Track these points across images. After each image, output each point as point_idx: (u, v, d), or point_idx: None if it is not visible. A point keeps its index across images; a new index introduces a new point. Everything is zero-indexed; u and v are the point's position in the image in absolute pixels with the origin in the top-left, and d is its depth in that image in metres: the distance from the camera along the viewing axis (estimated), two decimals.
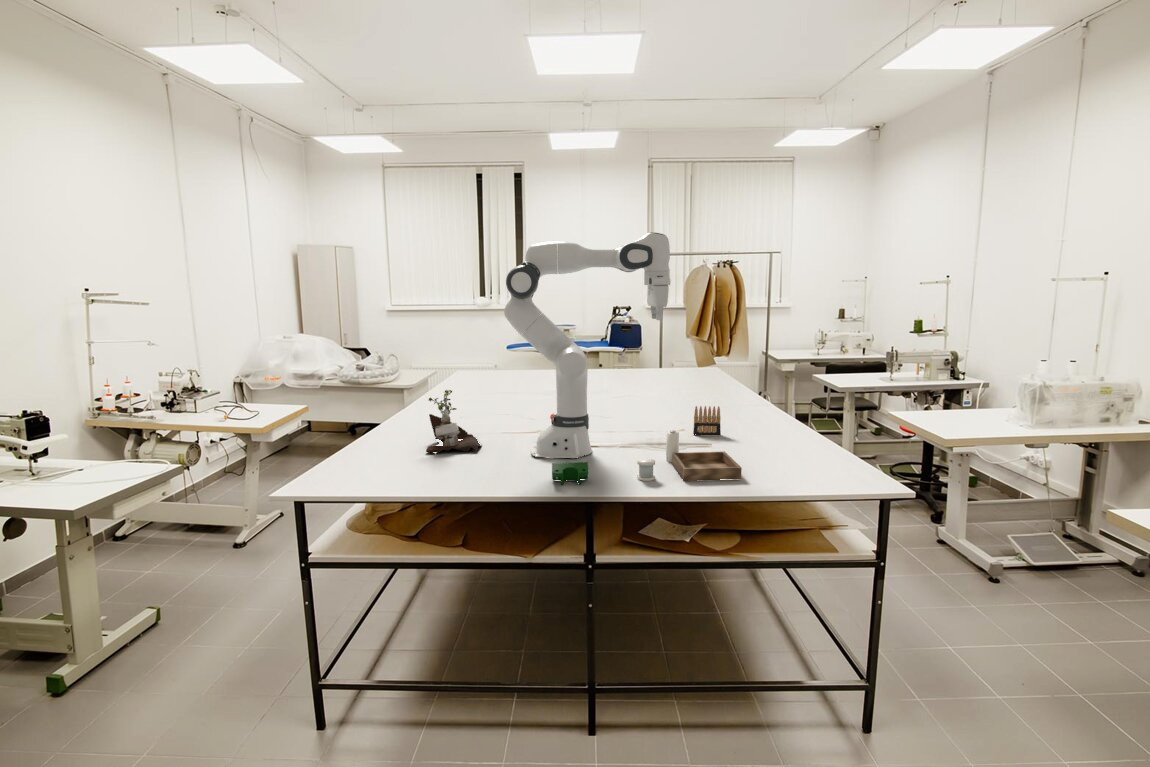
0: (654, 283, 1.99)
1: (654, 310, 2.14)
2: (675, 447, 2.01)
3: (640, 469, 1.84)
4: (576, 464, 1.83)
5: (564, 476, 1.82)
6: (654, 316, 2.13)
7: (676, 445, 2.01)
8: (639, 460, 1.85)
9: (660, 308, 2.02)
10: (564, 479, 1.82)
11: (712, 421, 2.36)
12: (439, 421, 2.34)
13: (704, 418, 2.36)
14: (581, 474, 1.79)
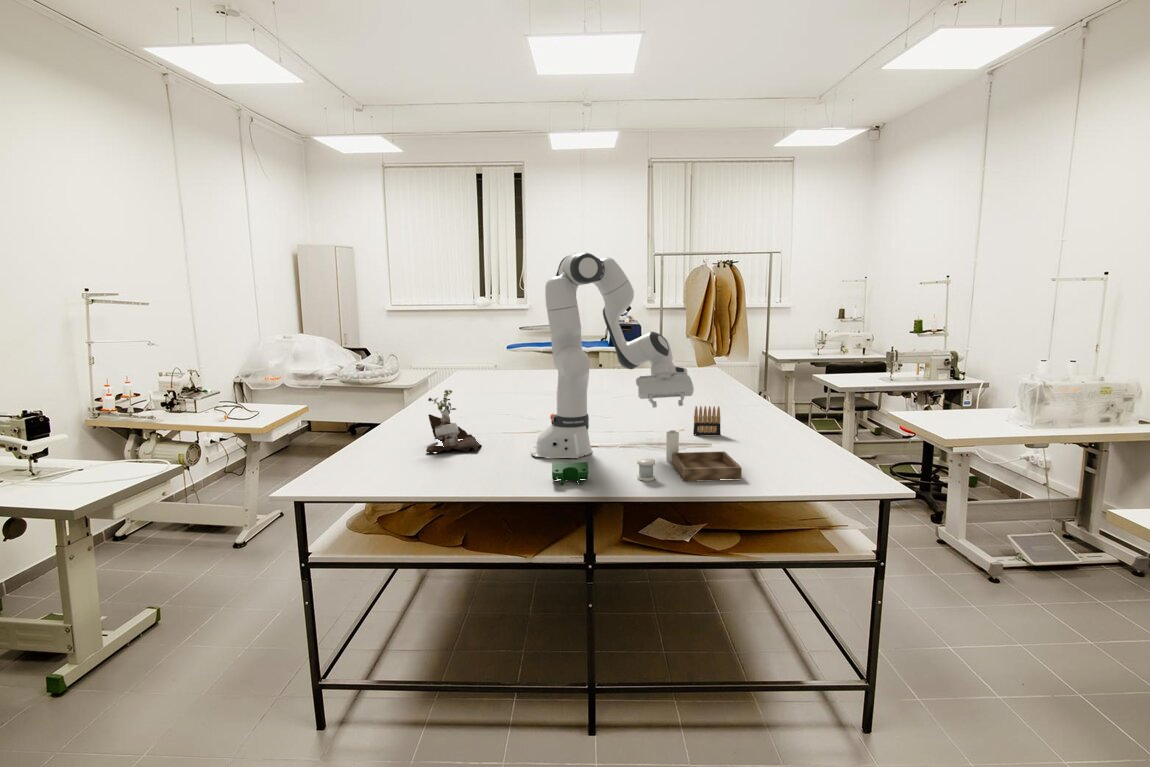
0: None
1: None
2: (675, 447, 2.01)
3: (640, 469, 1.84)
4: (576, 464, 1.83)
5: (564, 476, 1.82)
6: None
7: (676, 445, 2.01)
8: (639, 460, 1.85)
9: None
10: (564, 479, 1.82)
11: (712, 421, 2.36)
12: (438, 421, 2.34)
13: (704, 418, 2.36)
14: (581, 474, 1.79)
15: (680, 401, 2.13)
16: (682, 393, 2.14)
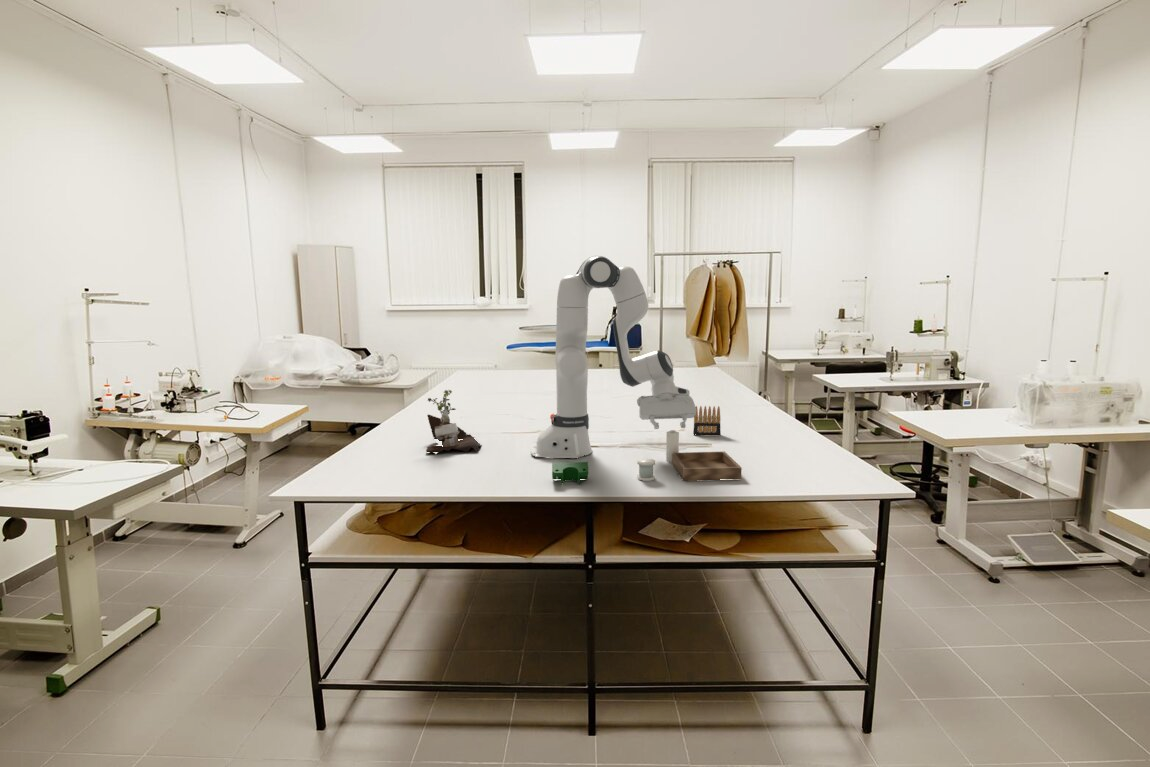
0: (689, 393, 2.13)
1: None
2: (675, 447, 2.01)
3: (640, 469, 1.84)
4: (576, 464, 1.83)
5: (564, 476, 1.82)
6: None
7: (676, 445, 2.01)
8: (639, 460, 1.85)
9: None
10: (564, 479, 1.82)
11: (712, 421, 2.36)
12: (437, 421, 2.34)
13: (704, 418, 2.36)
14: (581, 474, 1.79)
15: (683, 423, 2.08)
16: (684, 415, 2.09)
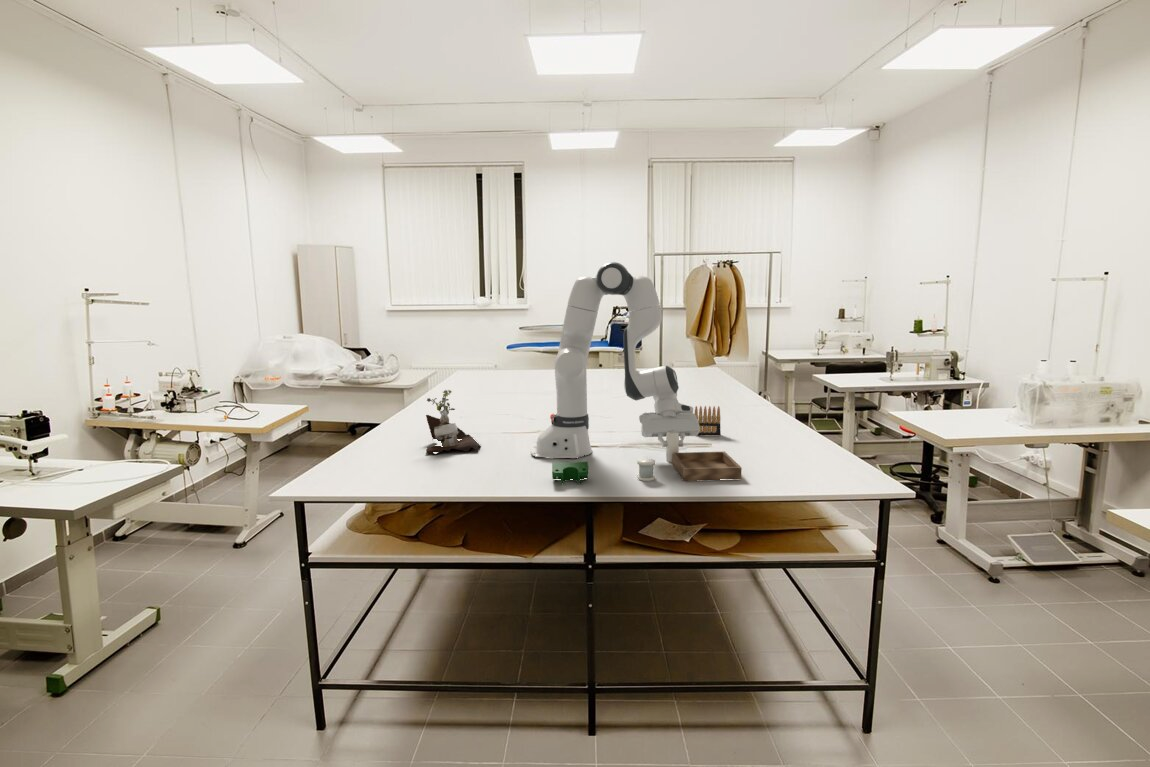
0: None
1: None
2: (675, 447, 2.01)
3: (640, 469, 1.84)
4: (576, 464, 1.83)
5: (564, 476, 1.82)
6: None
7: (676, 445, 2.01)
8: (639, 460, 1.85)
9: None
10: (564, 479, 1.82)
11: (712, 421, 2.36)
12: (436, 422, 2.33)
13: (704, 418, 2.36)
14: (581, 474, 1.79)
15: (680, 442, 2.02)
16: (682, 433, 2.04)
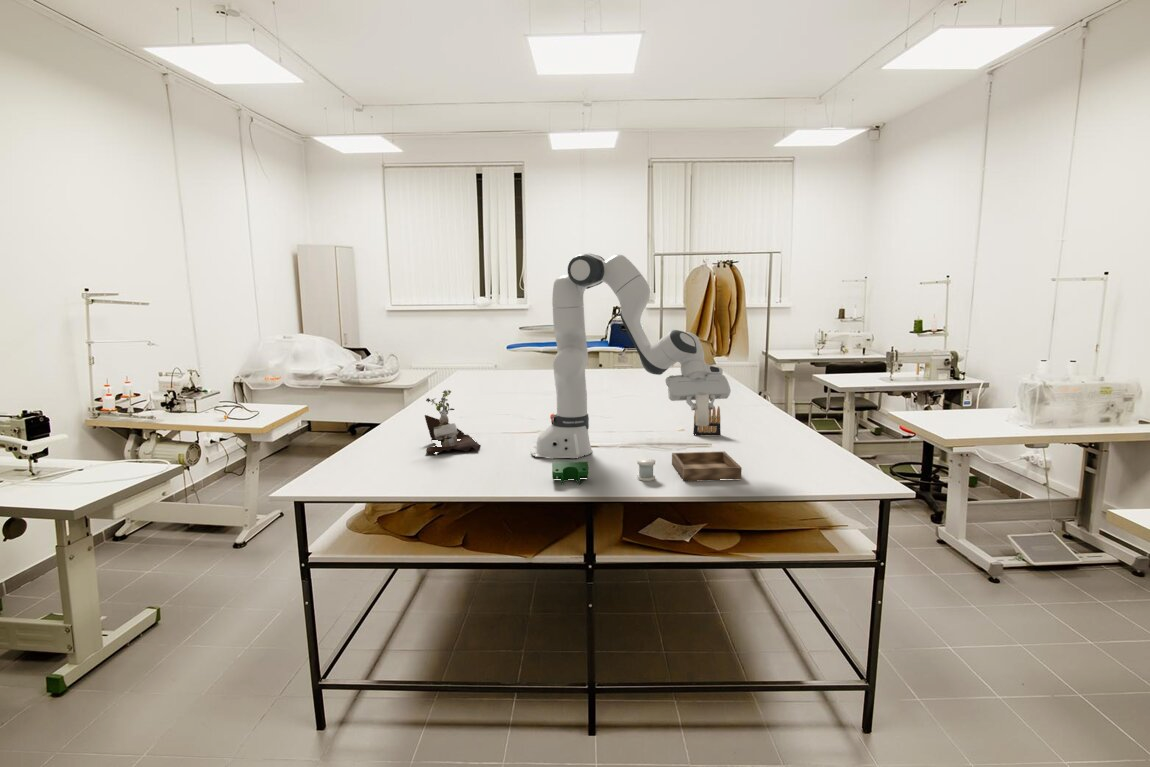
0: (722, 372, 1.96)
1: None
2: (705, 409, 1.89)
3: (640, 469, 1.84)
4: (576, 463, 1.84)
5: (564, 475, 1.82)
6: None
7: (706, 407, 1.89)
8: (639, 460, 1.85)
9: None
10: (564, 478, 1.83)
11: (712, 421, 2.36)
12: (435, 422, 2.33)
13: None
14: (581, 473, 1.79)
15: (710, 404, 1.91)
16: (712, 395, 1.92)
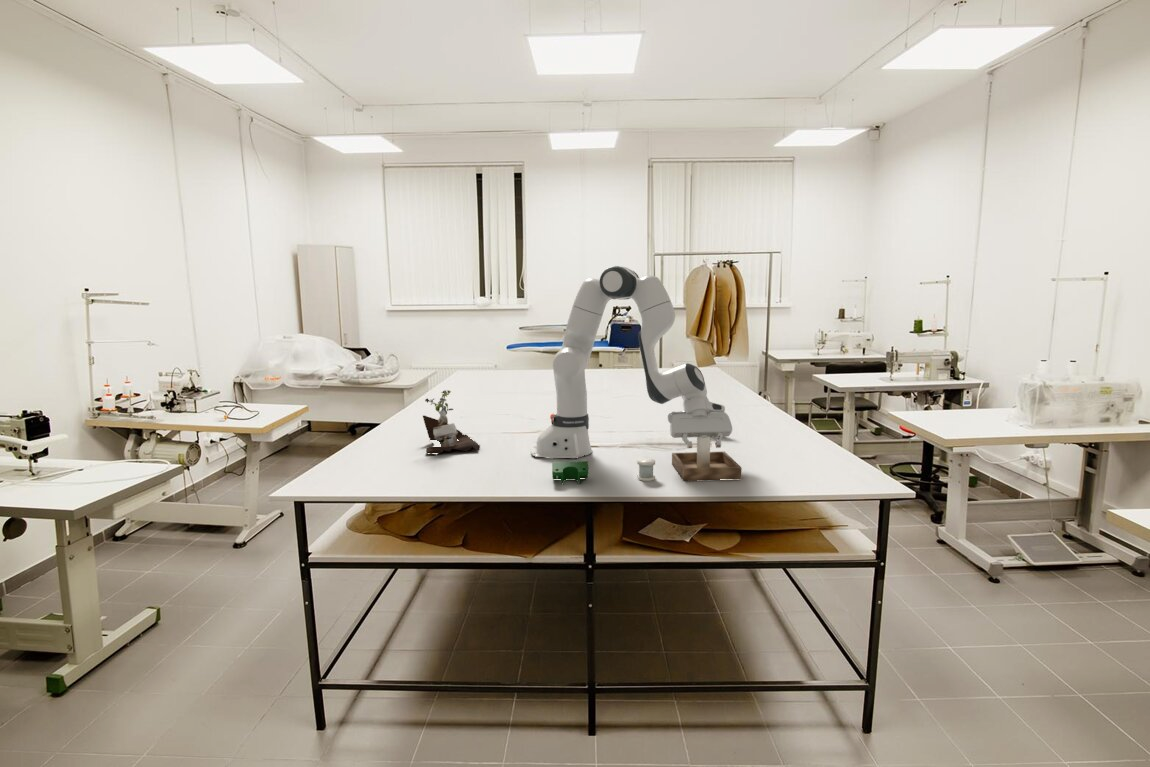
0: (724, 410, 1.97)
1: None
2: (706, 452, 1.90)
3: (640, 469, 1.84)
4: (576, 463, 1.84)
5: (564, 475, 1.82)
6: None
7: (707, 450, 1.90)
8: (639, 460, 1.85)
9: None
10: (564, 478, 1.83)
11: None
12: (433, 422, 2.32)
13: None
14: (581, 473, 1.80)
15: (718, 442, 1.91)
16: (720, 433, 1.93)
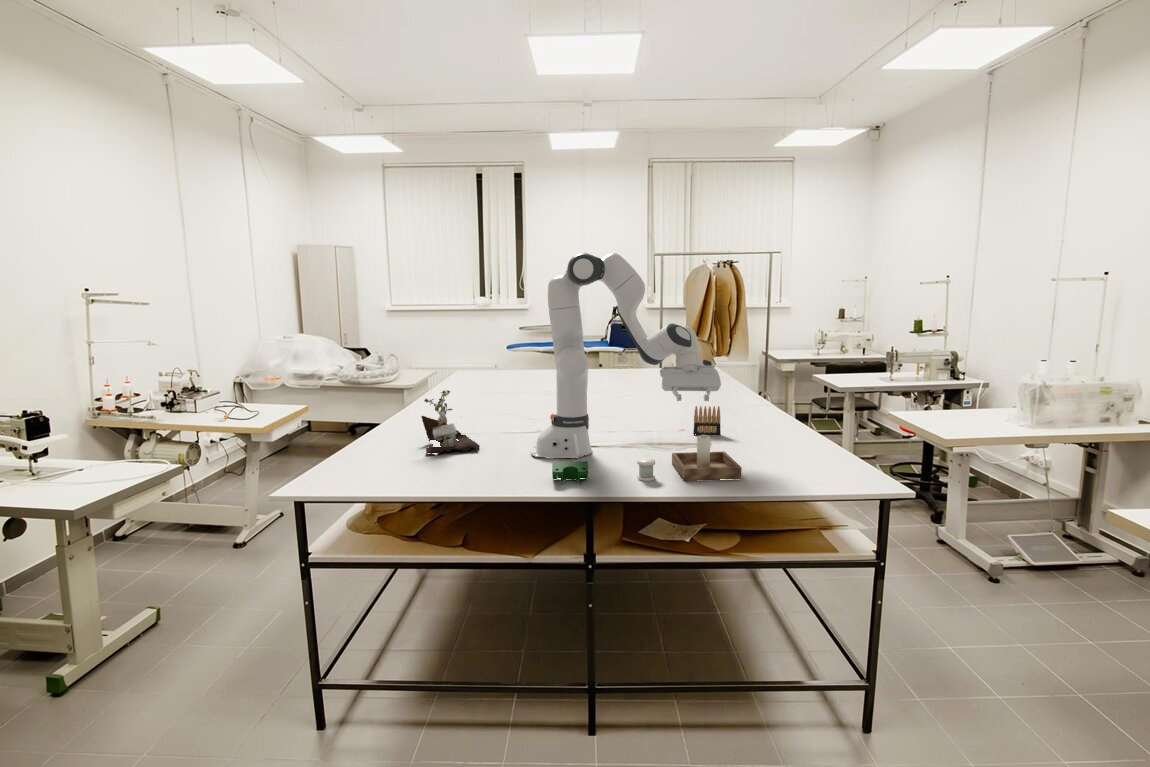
0: (714, 366, 2.07)
1: None
2: (706, 452, 1.90)
3: (640, 469, 1.84)
4: (576, 463, 1.84)
5: (564, 475, 1.83)
6: None
7: (707, 450, 1.90)
8: (639, 460, 1.85)
9: None
10: (564, 478, 1.83)
11: (712, 421, 2.36)
12: (432, 422, 2.32)
13: (704, 418, 2.36)
14: (581, 473, 1.80)
15: (706, 396, 2.01)
16: (709, 388, 2.03)
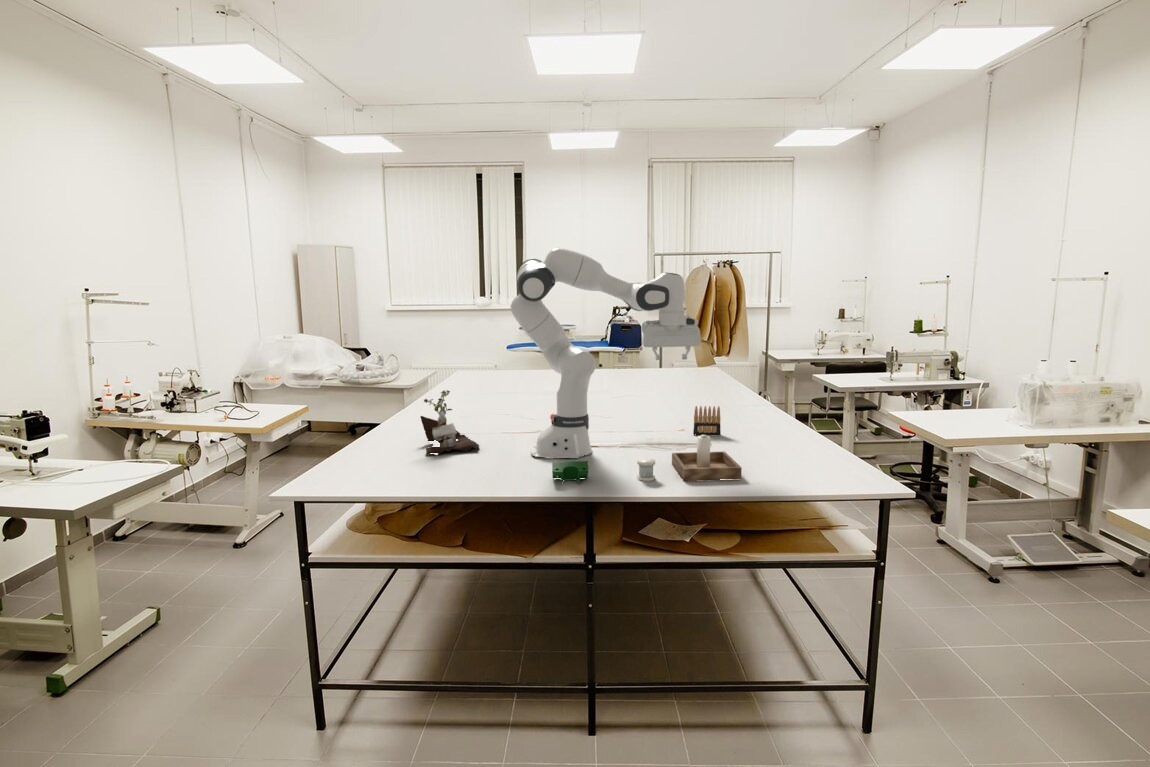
0: (697, 323, 2.03)
1: (655, 351, 2.07)
2: (706, 452, 1.90)
3: (640, 469, 1.84)
4: (576, 463, 1.84)
5: (564, 475, 1.83)
6: (659, 357, 2.07)
7: (707, 450, 1.90)
8: (639, 460, 1.85)
9: None
10: (564, 478, 1.83)
11: (712, 421, 2.36)
12: (431, 423, 2.32)
13: (704, 418, 2.36)
14: (581, 473, 1.80)
15: (684, 356, 2.06)
16: (688, 347, 2.05)
